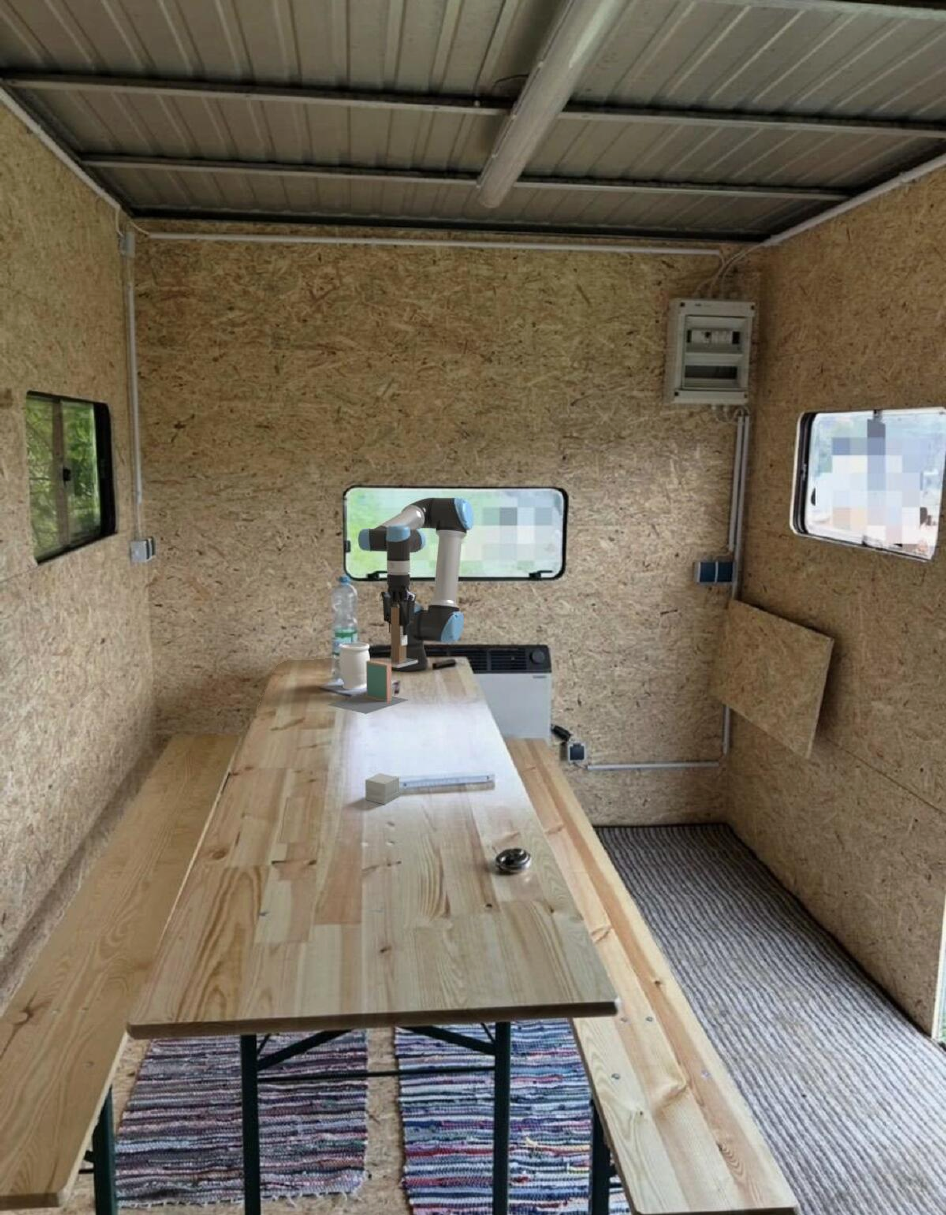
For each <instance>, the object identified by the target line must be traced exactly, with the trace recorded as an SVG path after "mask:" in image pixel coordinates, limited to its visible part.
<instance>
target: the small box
mask: <svg viewBox="0 0 946 1215" xmlns="http://www.w3.org/2000/svg"><path fill="white" fill-rule="evenodd" d="M364 783H365V800H366V801H369V802H375V803H376V804H377V803H378V804H382V805H387V804H389V803H390V802H393V801H394V800H396V799H399V797H400V777H399V776H394V775H389V774H384V773H382V772H381V773H377V774H374V775H373V776H371V777H369V778H367V779H365V782H364Z"/></svg>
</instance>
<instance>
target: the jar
mask: <svg viewBox="0 0 946 1215" xmlns="http://www.w3.org/2000/svg"><path fill="white" fill-rule="evenodd" d="M338 648H339V650H340V652H339V655H338V666H339V667H338V668H339V672H340V677H341V680H342V682H343V685H342V688H343V689H345V690H354V691H356V690H365V689H367V681H366V661H369V660H371V659H370V652H369V649H370V644H369V643H367V642H357V641H355V642H354V641H353V642H343V643H340V644H339V645H338Z"/></svg>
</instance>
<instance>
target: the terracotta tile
mask: <svg viewBox="0 0 946 1215" xmlns="http://www.w3.org/2000/svg"><path fill="white" fill-rule="evenodd" d="M366 685H367V687H366V693H367V697H368V698H372V699H377V700H382V701H386V702H388V701H391V700H392V696H393V692H392V669H391V664H389V663H383V662H380V661H378V660H377V661H376V660H371V659H370V660H369V661H366Z"/></svg>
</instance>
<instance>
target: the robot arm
mask: <svg viewBox="0 0 946 1215" xmlns="http://www.w3.org/2000/svg"><path fill="white" fill-rule="evenodd" d="M473 526H474V512H473V507H472V504H471V503H470V501H469V500H468V499H466V498H461V497H460V498H459V497H426V498H423V499H420V500H416V501H414V502H411V503H409V504H408V505H406V506H405V507H404V508H403V509H402V510H401V512H400V513H397V514H396V515H395V516H393V517H391V518H390V519H388V520H386V521H385V522H383V523H380V525H378V526H376V527H374V528H362V529H361V530H360V531H359V533H358V536H357V543H358V547H359V548H360V550H362V551H363V552H365V551H366V552H371V553H372V552H381V553H382V552H386V573H387V575H386V585H387V589H386V590H385V591H381V599H382V609H383V610H382V611H383V612H382V613H383V621H384V622H385V623H386V622H387V624H388V633H389V637H390V639H389V641H390V645H391V607H394V606H399V607H400V614H401V621H402V624H401V626H400V645H401V646H403V645H406V658H410V659H416V660H418V663H415V664H411V665H407V666H404V667H400V668H395V667H391V671H392V670H393V671H400V672H417V671H422V670H425V669H427V668H429V660H428V658H427V654H426V650H425V647H424V642H433V643H442V644H446V643H447V644H448V643H451V644H452V643H456V642H457V641H458V640H459V639H460V637H461V636H462V633H463V629H464V624H465V617H464V613H463V612H461V611H460V609H461V608H460V606H459V605H458V604H457V598H458V597H457V595H458V585H459V574H460V565H461V564H460V563H461V553H462V543H463V542H462V541H463V539H464V538H465V537H467V531H470V530H472V528H473ZM420 529H434V530H435V534H436V535H437V536H438V543H437V544H438V546H437V554H436V566H435V575H434V576H435V577H434V589H433V598H432V601H431V602H430V603H428V605H427V606H428V607H427V609H425V607H424V606H423V605H421V604H415V602H416V600H417V594H415V593H414V594H413V593H412V592H411V590H410V585H411V575H410V572H411V559H410V558H411V553H415V554H416V553H418V552H419V551H421V550H423V549H424V548H425V546H426V537H425V536H426V535H425V534H424V533H423V532H422V531H421V530H420ZM405 621H406V622H405ZM389 659H391V653H390V654H389Z"/></svg>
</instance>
